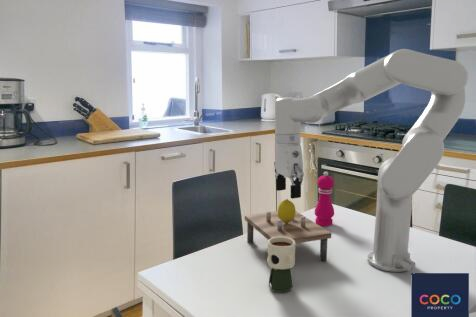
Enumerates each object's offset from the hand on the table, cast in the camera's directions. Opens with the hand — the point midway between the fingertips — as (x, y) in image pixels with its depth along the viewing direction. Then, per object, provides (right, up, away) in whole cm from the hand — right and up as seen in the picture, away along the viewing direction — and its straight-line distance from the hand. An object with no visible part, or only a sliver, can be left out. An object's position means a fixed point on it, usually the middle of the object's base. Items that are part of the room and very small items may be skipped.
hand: (288, 193), depth 130 cm
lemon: (0, -10, +2) cm, 10 cm away
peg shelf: (-1, -18, +4) cm, 19 cm away
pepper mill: (+17, -14, +28) cm, 36 cm away
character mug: (-4, -23, -20) cm, 31 cm away
